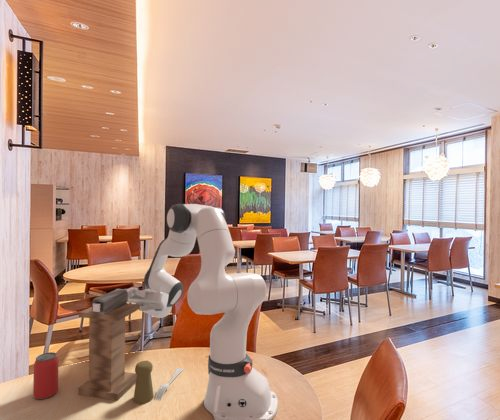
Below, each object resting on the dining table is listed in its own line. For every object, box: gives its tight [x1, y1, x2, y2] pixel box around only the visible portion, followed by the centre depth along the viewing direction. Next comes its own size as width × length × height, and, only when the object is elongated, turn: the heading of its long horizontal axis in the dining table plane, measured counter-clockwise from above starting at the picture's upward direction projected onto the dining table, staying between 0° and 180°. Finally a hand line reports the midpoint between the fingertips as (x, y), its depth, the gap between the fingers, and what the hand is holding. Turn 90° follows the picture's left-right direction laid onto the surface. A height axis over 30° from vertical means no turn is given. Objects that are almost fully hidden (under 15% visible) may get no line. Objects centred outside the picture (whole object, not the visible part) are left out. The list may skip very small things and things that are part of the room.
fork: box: [153, 367, 184, 402], centre depth 106 cm, size 3×21×3 cm, turn 171°
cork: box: [132, 360, 155, 405], centre depth 97 cm, size 6×6×11 cm
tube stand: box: [77, 288, 140, 401], centre depth 103 cm, size 14×12×31 cm
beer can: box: [32, 351, 59, 400], centre depth 99 cm, size 7×7×12 cm
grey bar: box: [93, 286, 140, 312], centre depth 107 cm, size 2×22×2 cm, turn 168°
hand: (130, 291), depth 114 cm, fingers closed on grey bar, 2 cm apart
